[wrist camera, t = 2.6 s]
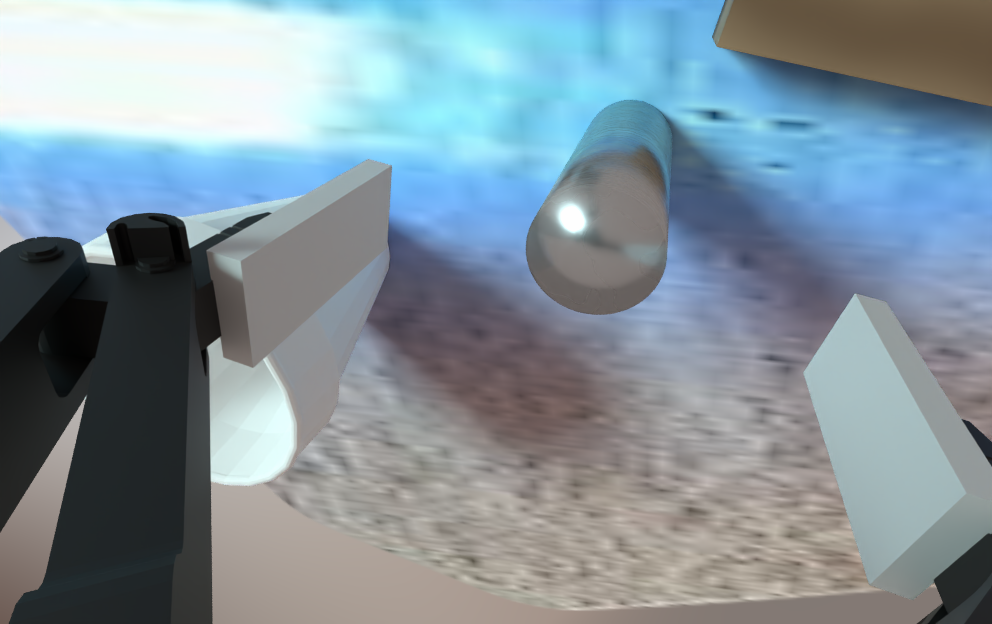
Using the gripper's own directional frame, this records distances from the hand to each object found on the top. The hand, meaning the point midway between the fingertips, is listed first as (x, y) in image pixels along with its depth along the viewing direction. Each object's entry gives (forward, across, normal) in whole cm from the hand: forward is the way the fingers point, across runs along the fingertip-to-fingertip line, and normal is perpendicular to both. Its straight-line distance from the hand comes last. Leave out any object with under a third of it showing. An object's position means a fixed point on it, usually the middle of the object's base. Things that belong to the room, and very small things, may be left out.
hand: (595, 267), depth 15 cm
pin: (+12, 0, 0) cm, 12 cm away
